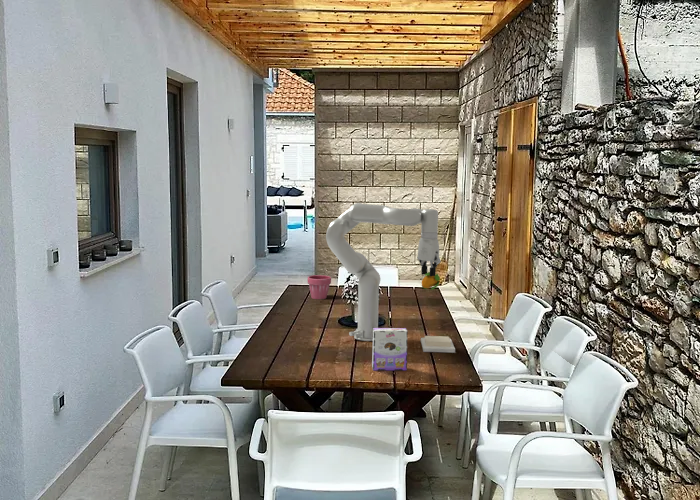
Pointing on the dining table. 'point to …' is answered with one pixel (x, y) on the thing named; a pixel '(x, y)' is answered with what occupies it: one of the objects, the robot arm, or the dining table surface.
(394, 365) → the candy box
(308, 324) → the dining table surface
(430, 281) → the corn
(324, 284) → the plant pot
